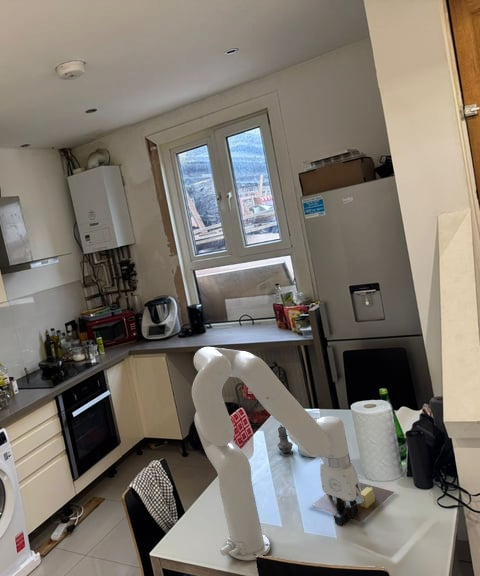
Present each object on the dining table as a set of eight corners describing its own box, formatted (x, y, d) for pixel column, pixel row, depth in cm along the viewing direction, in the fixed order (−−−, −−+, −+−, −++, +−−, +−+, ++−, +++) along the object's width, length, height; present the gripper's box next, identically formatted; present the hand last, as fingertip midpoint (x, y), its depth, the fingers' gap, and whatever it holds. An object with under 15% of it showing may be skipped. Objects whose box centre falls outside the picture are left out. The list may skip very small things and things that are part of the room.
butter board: (361, 526, 149) (361, 522, 149) (312, 509, 162) (311, 505, 162) (394, 495, 160) (394, 491, 160) (345, 481, 173) (345, 478, 173)
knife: (342, 526, 149) (340, 517, 149) (335, 523, 151) (333, 515, 150) (376, 494, 160) (374, 487, 160) (369, 492, 162) (367, 485, 161)
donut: (323, 459, 191) (327, 447, 199) (322, 451, 190) (325, 438, 199) (296, 458, 196) (300, 446, 205) (294, 450, 196) (299, 438, 204)
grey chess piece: (295, 455, 198) (289, 426, 197) (280, 457, 199) (274, 428, 198) (292, 449, 204) (287, 420, 203) (277, 451, 205) (272, 422, 204)
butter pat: (367, 508, 155) (364, 495, 154) (360, 506, 156) (358, 494, 156) (375, 500, 157) (373, 488, 157) (368, 498, 159) (366, 486, 159)
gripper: (304, 457, 155) (315, 513, 157) (355, 470, 142) (366, 531, 144) (318, 447, 159) (328, 502, 161) (369, 459, 146) (380, 519, 148)
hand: (346, 515), depth 152 cm, fingers closed on knife, 2 cm apart
